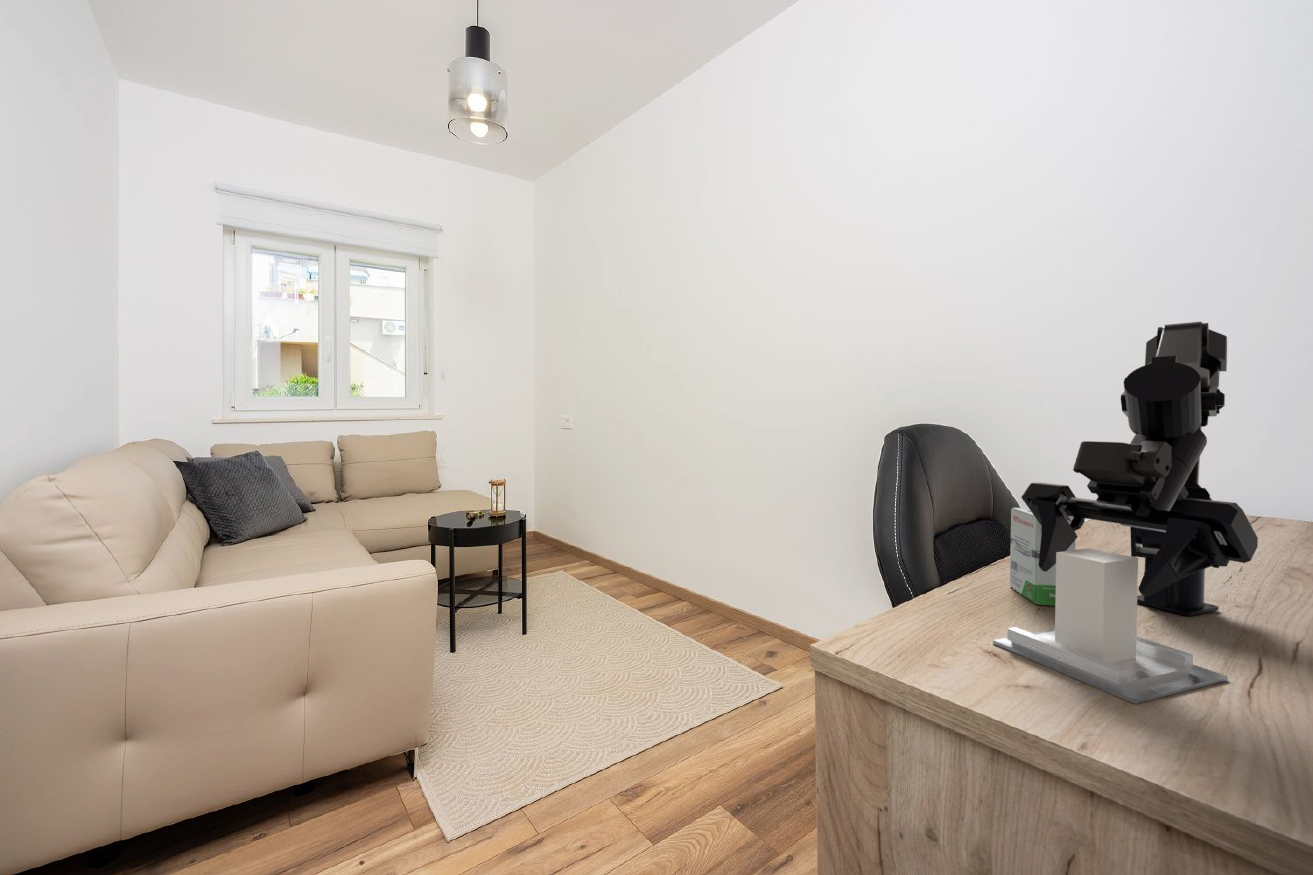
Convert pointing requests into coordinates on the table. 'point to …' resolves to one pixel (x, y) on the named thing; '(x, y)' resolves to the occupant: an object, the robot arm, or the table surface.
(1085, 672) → the rail panel
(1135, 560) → the block
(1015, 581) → the ink box
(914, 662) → the table surface
